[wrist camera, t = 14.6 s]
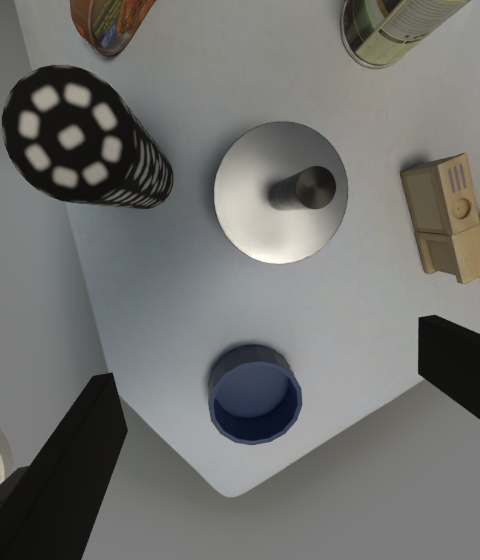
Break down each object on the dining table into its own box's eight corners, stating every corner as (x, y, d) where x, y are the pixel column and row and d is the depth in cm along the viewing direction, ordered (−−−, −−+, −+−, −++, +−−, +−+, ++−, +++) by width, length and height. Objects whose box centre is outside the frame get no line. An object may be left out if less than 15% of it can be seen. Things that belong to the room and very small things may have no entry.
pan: (215, 425, 48) (216, 452, 43) (203, 352, 45) (202, 370, 39) (294, 412, 49) (305, 435, 44) (288, 338, 46) (298, 354, 40)
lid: (223, 270, 33) (229, 298, 22) (204, 132, 29) (200, 84, 19) (346, 253, 34) (409, 271, 23) (341, 117, 30) (413, 64, 20)
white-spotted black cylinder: (150, 130, 37) (85, 37, 18) (185, 189, 39) (161, 163, 20) (95, 163, 37) (-28, 107, 18) (132, 220, 39) (58, 225, 20)
